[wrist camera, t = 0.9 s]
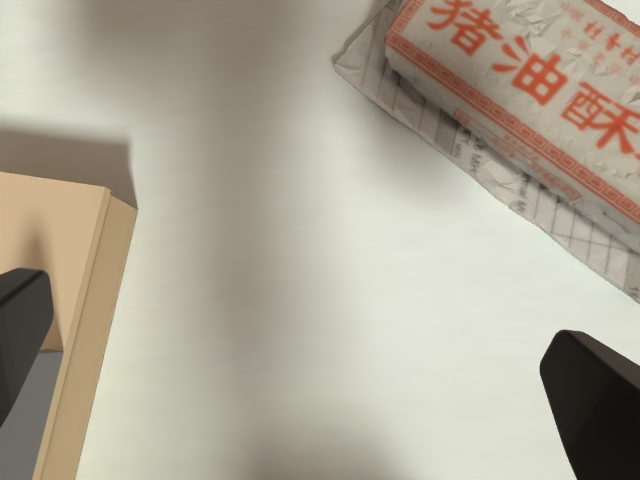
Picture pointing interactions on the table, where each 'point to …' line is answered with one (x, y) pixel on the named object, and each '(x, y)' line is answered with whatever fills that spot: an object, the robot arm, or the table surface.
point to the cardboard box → (89, 343)
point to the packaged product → (523, 110)
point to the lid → (67, 293)
